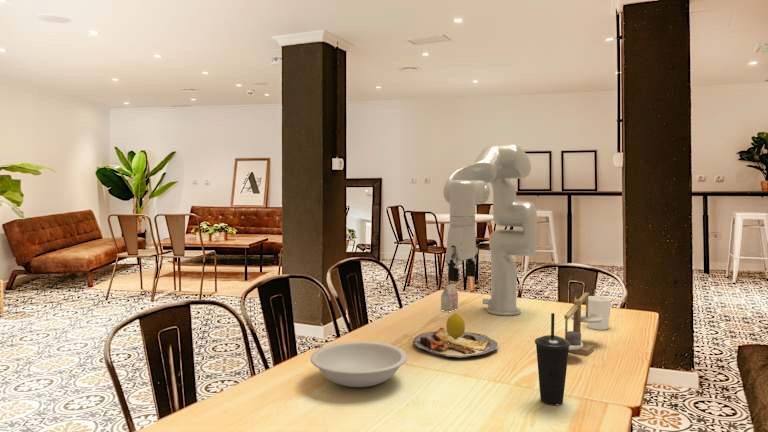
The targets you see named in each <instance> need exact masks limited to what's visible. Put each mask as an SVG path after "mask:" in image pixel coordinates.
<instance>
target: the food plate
mask: <svg viewBox="0 0 768 432" xmlns="http://www.w3.org/2000/svg"><path fill="white" fill-rule="evenodd" d="M412 343H413V345H414V346H415V345H416V348H418V349H422V350H425V351H427V352H429V353H430V354H433V355H434V356H441V357H449V358H460V359H461V358H468V357H471V356H481V355H485V354H486V355H487V354H488V353H491V352H493V351H495V350H497V349H498V348H499V343H498V341H496V340H495V339H492V338H491V337H488V336H487V335H484V334H480V333H475V332H468V331H464V333H463V335H462V336H461V337H459V338H457V339H456V340H455V339H454V338H453V337H451V336H450V335H449V334H448V332H447V329H445V328H444V327H439V328H438V330H436V331H429V332H425V333H421V334H419V335H417V336H415V338H414V339H413V340H412ZM448 343H449V344H448ZM451 344H453V345H452V346H449V345H451ZM455 345H456V346H455ZM460 346H461V347H460ZM464 347H465V348H464ZM447 349H448V350H451V349H452V351H454V350H455V352H457V351H458V353H460V352H461V354H464V355H456V354H446V353H443V351H444V352H446V351H448V350H447ZM431 350H432V351H431ZM476 351H479V352H477V353H476ZM480 351H481V352H480ZM465 354H466V355H465Z"/></svg>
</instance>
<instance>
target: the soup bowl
mask: <svg viewBox="0 0 768 432" xmlns="http://www.w3.org/2000/svg"><path fill="white" fill-rule="evenodd" d="M407 361H408V354H407V352H406V351H405V350H404V349H402V348H400V347H397V346H396V345H393V344H389V343H383V342H378V341H366V340H365V341H363V340H361V341H360V340H359V341H345V342H338V343H333V344H328V345H327V346H323V347H321V348H318V349H317V350H315V351H313V353H311V355H310V362H311V364H312V365H313V366H314V367H316V368H317V369H319V371H320V372H321V373H322V374H323V376H324V377H326V378H327V379H328V380H329V381H331V382H333V383H335V384H337V385H340V386H343V387H347V388H348V387H350V388H367V387H372V386H377V385H379V384H382V383H384V382H386V381H387V380H389V379H390V378H392V377H393V376H394V374H396V373H397V371H398V370H399V368H400V367H402V366H403V365H404V364H406V362H407Z"/></svg>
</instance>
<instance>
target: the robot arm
mask: <svg viewBox="0 0 768 432" xmlns="http://www.w3.org/2000/svg"><path fill="white" fill-rule="evenodd" d="M531 169H532V164H531V160H530V158H529V156H528V155H527V153H526V152H525V150H524V149H523V148H522V147H521V146H519V145H518V144H515V143H513V144H509V143H508V144H490V145H486V146H485V147H484V148H483V149H482V150H481V151H480V153H479V155H478V156H477V158H476V159H475V161H474V162H472V163H470V164H468V165H466V166H464V167H462V168H459V169H457V170H456V171H453V172H452V173H451V174H450V176H449V177H448V179H447V180H446V181H445V184H444V187H443V191H442V192H443V198H444V200H445V202H447V203H449V227H448V232H447V238H446V253H445V254H444V257H445V263H446V265H447V266H446V267H447V268H448V281H450V282H456V283H457V282H459V279H460V276H459V275H460V274H459V273H460V269H459V265H460V262H462V261H463V262H464V261H466V262H465V276H466V277H471V278H472V277H473V278H475V277H476V264H477V258H478V253H479V252H478V251H479V248H478V247H477V242H476V239H477V238H476V237H477V236H476V229H475V228H476V205H483V204H485V203H487V201H488V200H489V199H490V197H491V188H492V219H493V222H494V224H495V225H497V226H499V227H515V228H517V227H519V228H522V229H523V230H521V229H520V230H519V229H517V230H516V229H497V230H494V231H492V232H491V233H490V234H489V238H488V243H489V245H488V246H489V251H490V252H489V253H490V259H491V260H490V264H491V266H490V267H491V268H490V271H491V272H490V273H491V274H490V275H491V277H490V298H486V297H485V298H482V301H481V303H482V305H487V307H486V312H488V313H489V314H492V315H496V316H517V315H520V313H521V309H520V308H519V307H517V294H518V293H517V284H518V283H517V282H518V280H517V279H518V277H517V276H518V271H517V270H518V267H517V264H516V262H515V260H514V259H513V258H512V256H517V257H518V256H520V257H531V256H533V255H535V253H536V252H537V242H538V241H537V240H538V239H537V237H538V236H537V235H538V231H537V228H538V223H537V222H538V218H537V217H538V215H537V214H538V213H537V209H536V205H535V204H534V203H533V202H531V201H523V200H522V201H521V200H520V201H518V200H517V187H516V186H515V183H514V182H513V180H512V179H519V180H520V179H526V178H527V177H528V176H529V175H530V173H531ZM489 184H490V185H491V188H490V186H489Z"/></svg>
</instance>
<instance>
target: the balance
mask: <svg viewBox="0 0 768 432" xmlns="http://www.w3.org/2000/svg"><path fill="white" fill-rule="evenodd" d="M589 296H590V292H586V291H584V293H583V294H582V295H581V296H580V297H579V298H577V299H574V300H573V302H572V303H573V305H572V306H571V307H570V308H569V310H567V312H566V313H565V314H564V315H563V316H564V318H563V319H564V320H565V321H564V325H565V326H564V337H563V338H564V339H565V340H568V341H569V342H570V347H569V352H568V353H570V354H576V355H580V356H588V355H589V356H590V354H592V353H593V352H594V351H595V350H594V349H595V348H594V347H595V346H594V345H593V344H588V343H583V342H582V333H581V325H582V323H586V324H587V323H599V322H602V321H603V317H602V316H599V315H596V314H590V313H588V297H589ZM584 303H585V312H582V305H583V304H584ZM570 319H571V320H573V328H572V329H573V330H570V331H568V320H570Z"/></svg>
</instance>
